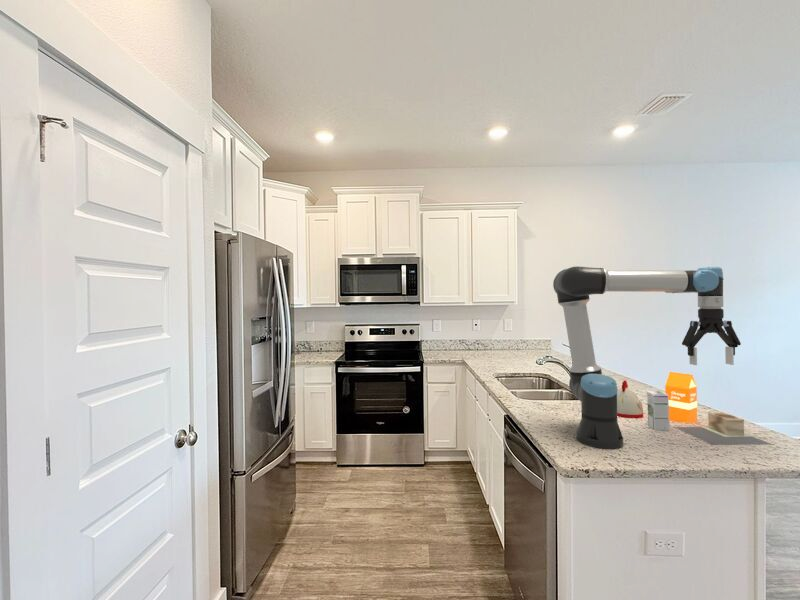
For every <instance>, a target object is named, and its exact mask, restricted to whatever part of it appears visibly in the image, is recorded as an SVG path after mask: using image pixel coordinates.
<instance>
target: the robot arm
mask: <svg viewBox="0 0 800 600" xmlns="http://www.w3.org/2000/svg"><path fill="white" fill-rule="evenodd" d="M724 278H725V277H724V273H723V269H722V268H721V266H706V267H705V266H704V267H698V268H697V269H696V270H695V269H694V270H679V269H678V270H606V269H605V267H589V266H588V267H587V266H571V267H568V268H564V269H563V270H561V271H559V272H558V273H557V274H556V275H555V277H554V279H553V282H552V283H553V285H552V286H553V290H554V292H555V293H556V298H557V303H558V305H559V306H561V307H562V309H563V313H564V321H565V327H566V332H567V333H566V334H567V339H568V340H567V341H568V344H569V350H570V351H569V352H570V358H571V363H572V364H571V367H570V368H569V375H570V377H569V378H570V379H569V389H570V392H571V394H572V395H573V396H574V397H575V398H576V399H578V400H579V401H580V403H581V404H580V405H581V406H580V407H581V410H580V411H581V419H580V421H579V425H578V427H577V430H576V440H577V442H579V443H581V444H584V445H587V446H590V447H593V448H598V449H620V448H623V446H624V436H623V435H622V431H621V428H620V425H619V422H618V417H617V391H618V389H619V388H618V384H617V381H616V379H614V378H613V377H611V376H609V375H605V374H603V372H602V367H601V366H600V365H598V364H597V362H596V355H595V350H594V345H593V344H594V342H593V339H592V338H593V337H592V330H591V325H590V319H589V313H588V308H587V306H588V305H587V303H588V302H589V301H590V299H591V298H590V295H591V296H592V295H604V294H605V293H606V292H636V293H637V292H638V293H639V292H641V293H642V292H656V293H657V292H662V293H663V292H664V293H666V294H683V293H684V294H685V293H686V294H687V293H688V294H689V293H693V294H694V293H696V294H697V307H698V309H697V318H698V319H699V320H698V321H697V320H691V321H690V322H689V327H688V329H687V331H686V334H685V336H684V338H683V340H682V342H681V345H682V346H685V347H687V355H688V356H689V365H693V366H698V348H697V347H695V346H697V344H698V343H699V342H700V340H702V338H703V337H704V336H705V335H707V334H711V333H713V334H717V335H718V336H719V338H720V339H721V340H722V341H723V342H724V343H725V344H726V346H725V347H724V348H725V349H724V350H725V351H724V352H725V353H724V354H725V364H726V365H731V366H734V365H735V363H734V362H735V361H734V359H735V358H734V356H735V355H736V348H738V347H739V346H741V345H742V343H741V341H740V338H739V337H738V335H737V332H736V331H735V329H734V328H733V323H732V320H723V319H724V315H725V313H724V309H723V307H724V280H725V279H724Z"/></svg>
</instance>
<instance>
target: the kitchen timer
mask: <svg viewBox="0 0 800 600" xmlns="http://www.w3.org/2000/svg"><path fill="white" fill-rule="evenodd" d="M628 385H629V384H628V382H627V380H625V379H624V380H623V381H622V384H621V387H620V388H617V389H618V391H617V416H618V417H619V418H624V419H634V418H635V419H642V418H644V407H643V402H642V399H640V398H639V397H638V395H637V393H635V392H634V391H633V390H632V389H630V388H629V386H628ZM618 417H617V418H618Z"/></svg>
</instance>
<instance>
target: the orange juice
mask: <svg viewBox="0 0 800 600" xmlns="http://www.w3.org/2000/svg"><path fill="white" fill-rule="evenodd" d="M695 381H696V380H695V378H694V376H693V374H689V373H681V372H673V371H669V372H668V376H667V379H666V383H665V387H664V388H665V389H664V391H665V392H664V393H666V394H668V400H669V421H671V420H672V422H677V423H687V424H692V423H697V422H698V394H697V391H698V388H697V387H698V386H697V383H696V382H695Z"/></svg>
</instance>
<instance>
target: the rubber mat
mask: <svg viewBox="0 0 800 600" xmlns="http://www.w3.org/2000/svg"><path fill="white" fill-rule="evenodd" d="M673 428H675V429H677V430H679V431H681V432H683V433H685V434H688V435H690V436H692V437H694V438H697V439H698V440H701V441H703V442H706V443H707V444H710V445H713V446H731V445H733V446H734V445H736V446H737V445H738V446H739V445H740V446H742V445H744V446H745V445H748V446H749V445H754V446H755V445H772V443H771V442H767V441H765V440H763V439H760V438H757V437H755V436H752V435H750V434H748V433H745V432H744V436H727V435H725V434H722V433H720V432H717V431H715V430H712V429H710V428H709V427H708V426H674V427H673Z"/></svg>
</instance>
